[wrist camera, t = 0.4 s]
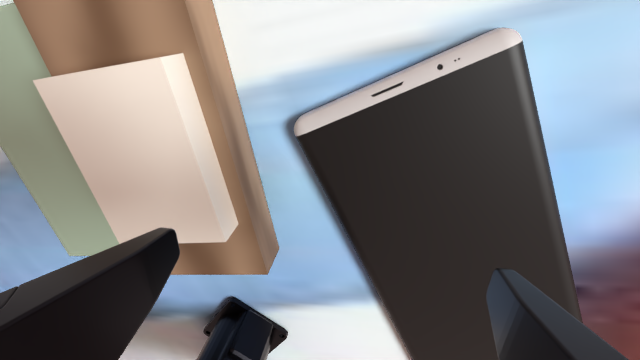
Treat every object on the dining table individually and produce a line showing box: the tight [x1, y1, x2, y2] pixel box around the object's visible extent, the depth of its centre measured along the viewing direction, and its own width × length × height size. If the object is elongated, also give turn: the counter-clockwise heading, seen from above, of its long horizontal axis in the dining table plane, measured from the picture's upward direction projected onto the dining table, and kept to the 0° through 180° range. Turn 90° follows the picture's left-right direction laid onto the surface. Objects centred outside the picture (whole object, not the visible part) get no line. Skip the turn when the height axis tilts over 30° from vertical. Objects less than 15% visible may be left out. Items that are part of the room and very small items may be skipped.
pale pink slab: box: [33, 53, 238, 244], centre depth 20 cm, size 11×8×2 cm
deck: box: [13, 0, 279, 275], centre depth 22 cm, size 10×20×3 cm, turn 9°
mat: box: [0, 3, 119, 256], centre depth 25 cm, size 12×20×1 cm, turn 9°
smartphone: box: [294, 28, 583, 360], centre depth 23 cm, size 13×27×2 cm, turn 26°
